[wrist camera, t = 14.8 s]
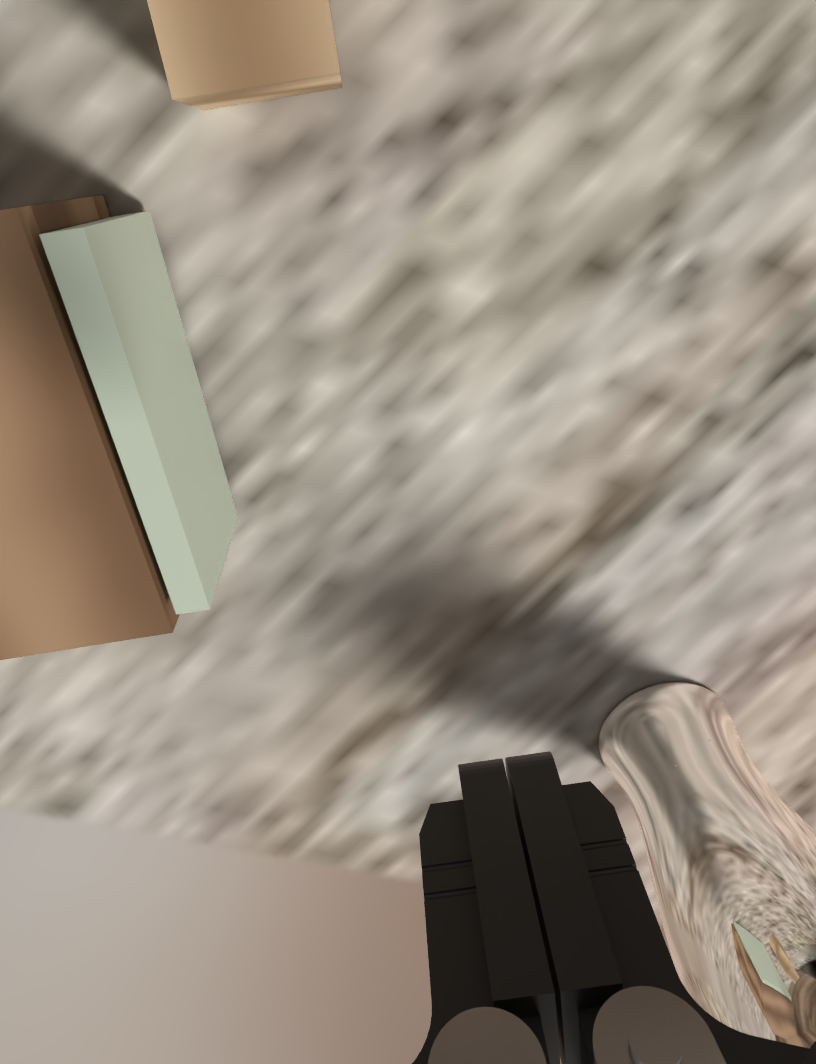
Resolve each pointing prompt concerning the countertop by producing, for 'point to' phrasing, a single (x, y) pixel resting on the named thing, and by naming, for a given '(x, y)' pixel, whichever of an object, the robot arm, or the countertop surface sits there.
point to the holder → (62, 468)
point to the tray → (149, 395)
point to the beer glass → (720, 860)
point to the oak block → (245, 49)
